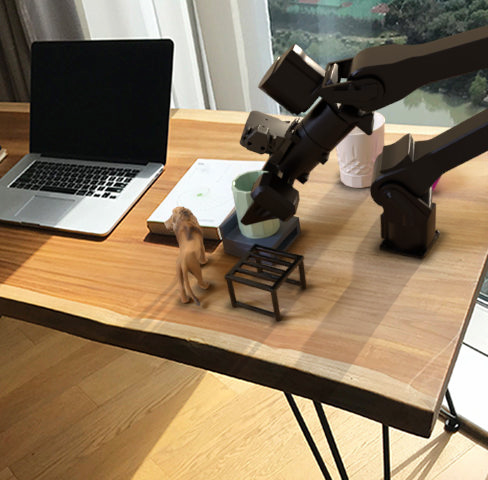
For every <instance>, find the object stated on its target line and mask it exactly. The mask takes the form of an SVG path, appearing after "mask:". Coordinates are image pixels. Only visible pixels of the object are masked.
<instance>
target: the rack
mask: <svg viewBox="0 0 488 480" xmlns="http://www.w3.org/2000/svg"><path fill="white" fill-rule="evenodd" d="M260 252H264V253H268V254H272V255H276V256H280V258H284V259H287V260H292V261H287V260H284V259H280V258H279V259H276V258H272V257H268V256H264V255H260ZM250 258H254V259H255V261H253V260H249V259H250ZM261 260H262V261H266V262H270V263H274V264H273V265H277V266H281V267H286V269H282V268H278V267H275V266H272V265H268V264H264V263H262V262H261ZM304 260H305V256H304V255H303V254H297V253H294V252H290V251H287V250H286V251H282V250H278V249H274V248H270V247H266V246H262V245H259V244H254V245H253V246H252V247H251V249H250V250H249V251H248V252H247V253H246V254H245V255H244V256H243V257H240V259H239V260H238V261H237V262H236V263H235V264H234V265H233V266H232V268H230V269H229V270H228V272H226V274H224V280H225V282H226V286H227V291H228V296H229V300H230V305H231V308H237V307H239V308H242V309H245V310H248V311H252V312H255V313H258V314H261V315H264V316H267V317H271V318H274V321H275V322H280V321H281V319H282V316H281V309H280V304H279V297H278V290H279V289H280V287H281V286H282V285H283V284H284V283H288V284H291V285H294V286H298V287H300V289H301V290H303V291H305V290H307V288H308V286H307V278H306V270H305V263H304V262H305V261H304ZM243 266H247V267H250V268H254V269H256V271H254V270H250V269H246V268H243ZM297 268H298V277H299V280H297V279H293V278H289V277H290V276H291V275H292V274H293V272H294V271H295V270H296V269H297ZM237 273H238V274H241V275H245V276H248V277H252V278H257V279H258V280H263V281H266V282H270V283H273V284H272V285H271V284H267V283H263V282H261V281H257V280H253V279H249V278H247V277H243V276H240V275H239V276H238V275H236V274H237ZM234 283H236V284H240V285H243V286H248V287H251V288H254V289H258V290H261V291H264V292H268V293H270V297H271V298H270V299H271V303H272V310H273V311H271V310H267V309H264V308H261V307H258V306H255V305H252V304H248V303H244V302H241V301H238V300H237V297H236V293H235V288H234Z"/></svg>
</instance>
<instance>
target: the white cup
mask: <svg viewBox="0 0 488 480" xmlns="http://www.w3.org/2000/svg"><path fill="white" fill-rule="evenodd" d="M385 136H386V118H385V116H384V115H383V114H381V112H377V111H375V112H374V126H373V133H372V135H367V134H365V133H364V132H363V131H362V130H360V129H359V128H358V127H355V128H354V129H353V130H352V131H351V132H350V133H349V134H348V135H347V136H346V137H345V138H344V139H343V140H342V141H341V142H340V143H339V144H338V145H337V146H336V147H335V152H336V159H337V165H338V167H339V168H338V169H339V175H340V181H341V183H343V185H344V186H347V187H350V188H353V189H354V188H355V189H363V188H368V187H371V180H372V173H373V167H374V163H375V160H376V158H377V156H378V155H379V154H381V153H382V151H383V146H385V145H386V143H385V142H386V140H385V139H386V137H385Z"/></svg>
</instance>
